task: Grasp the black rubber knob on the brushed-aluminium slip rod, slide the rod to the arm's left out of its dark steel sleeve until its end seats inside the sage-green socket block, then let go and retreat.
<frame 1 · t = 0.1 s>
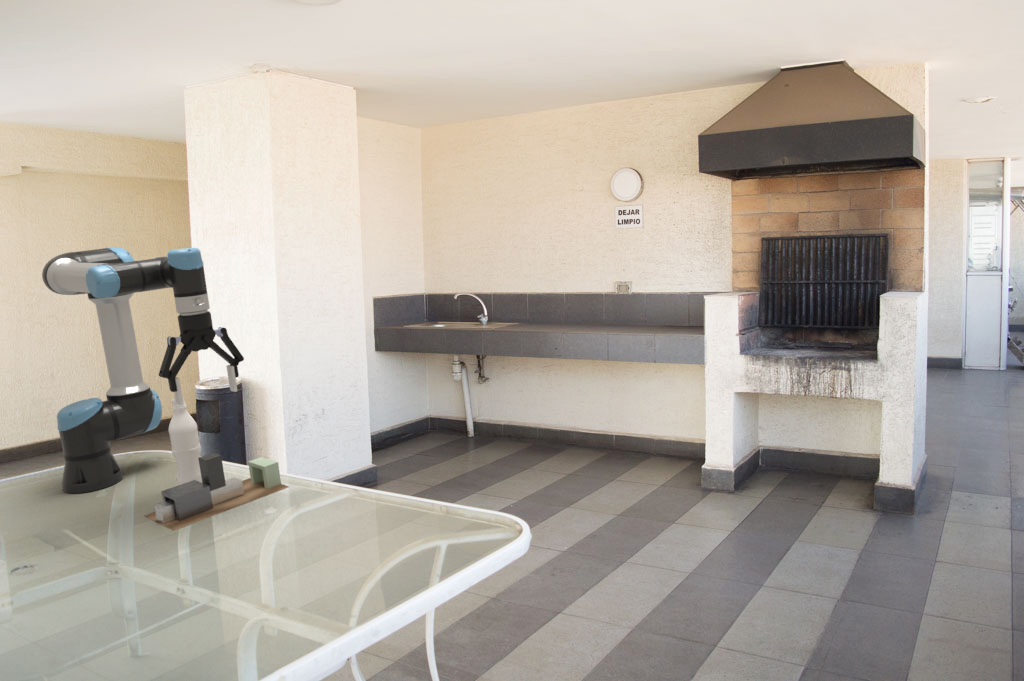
hand: (207, 397, 198), 28 cm above the table, fingers open, 13 cm apart
slip rod: (198, 484, 198), point 7 cm above the table, slide at 0.0 cm
sleeve: (190, 515, 197), resting on base board
water bottle: (193, 488, 216), on the table
socket block: (266, 486, 213), resting on base board
base board: (219, 504, 203), on the table
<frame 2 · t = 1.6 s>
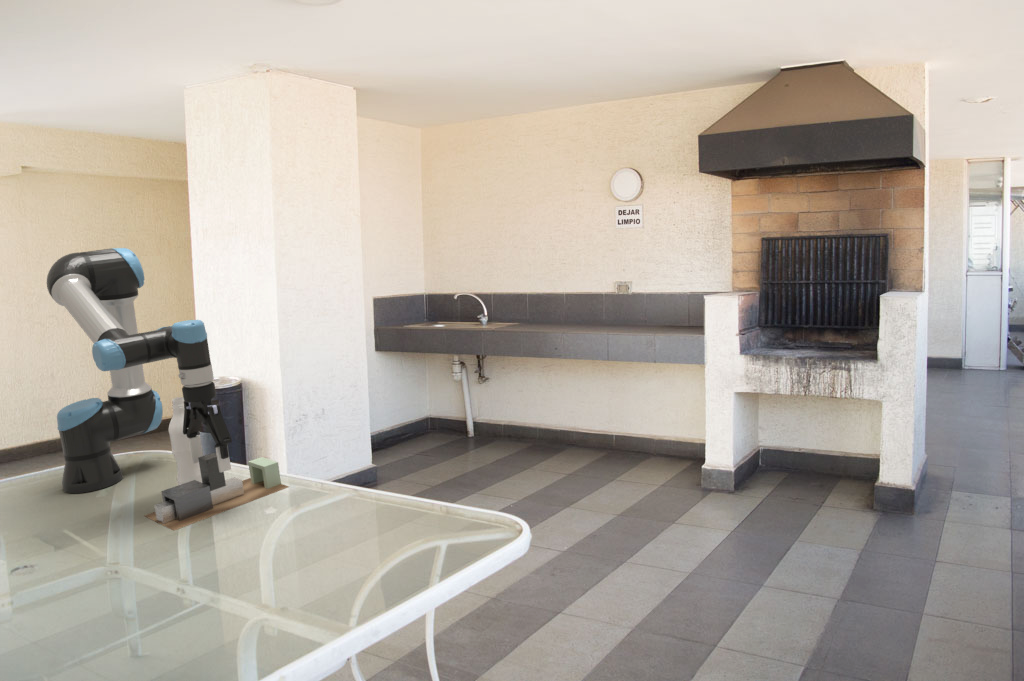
hand: (211, 466, 200), 10 cm above the table, fingers open, 13 cm apart
nothing on the table moved.
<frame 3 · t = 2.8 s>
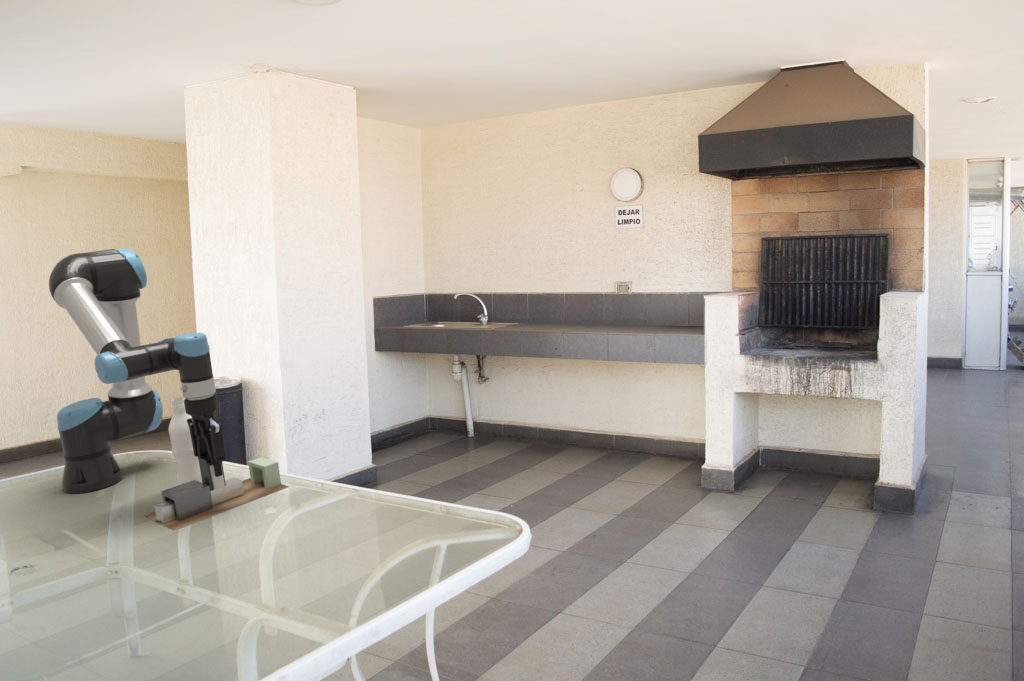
hand: (214, 485, 201), 5 cm above the table, fingers closed on slip rod, 4 cm apart
slip rod: (198, 484, 198), point 7 cm above the table, slide at 0.0 cm, touching gripper
everything else where it was.
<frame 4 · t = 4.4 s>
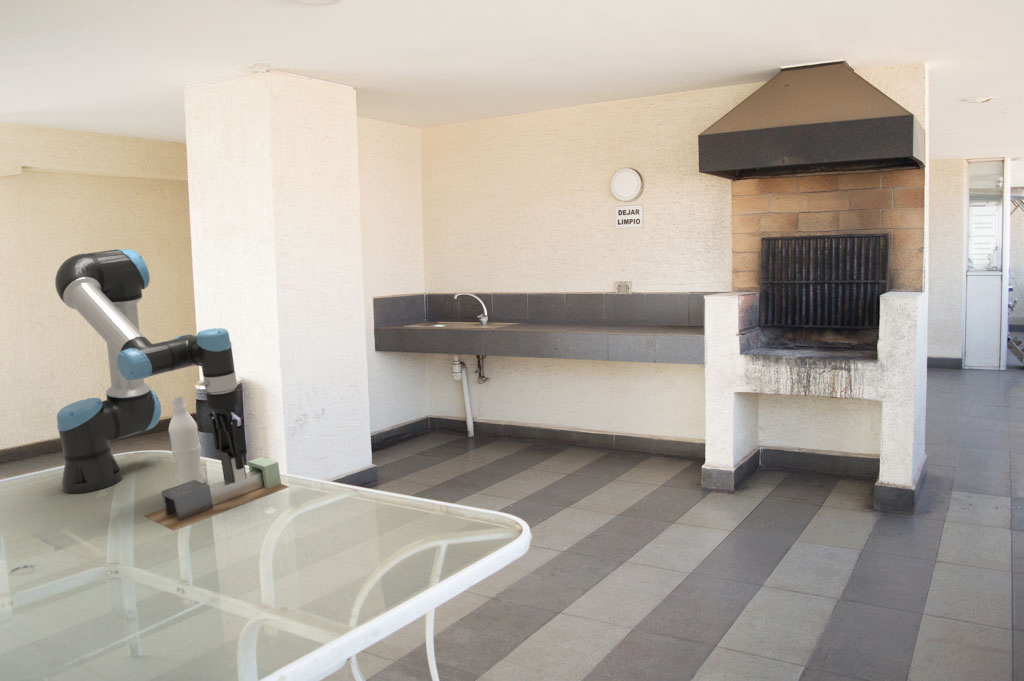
hand: (235, 478, 206), 5 cm above the table, fingers closed on slip rod, 4 cm apart
slip rod: (219, 476, 202), point 7 cm above the table, slide at 5.7 cm, touching gripper
everything else where it was.
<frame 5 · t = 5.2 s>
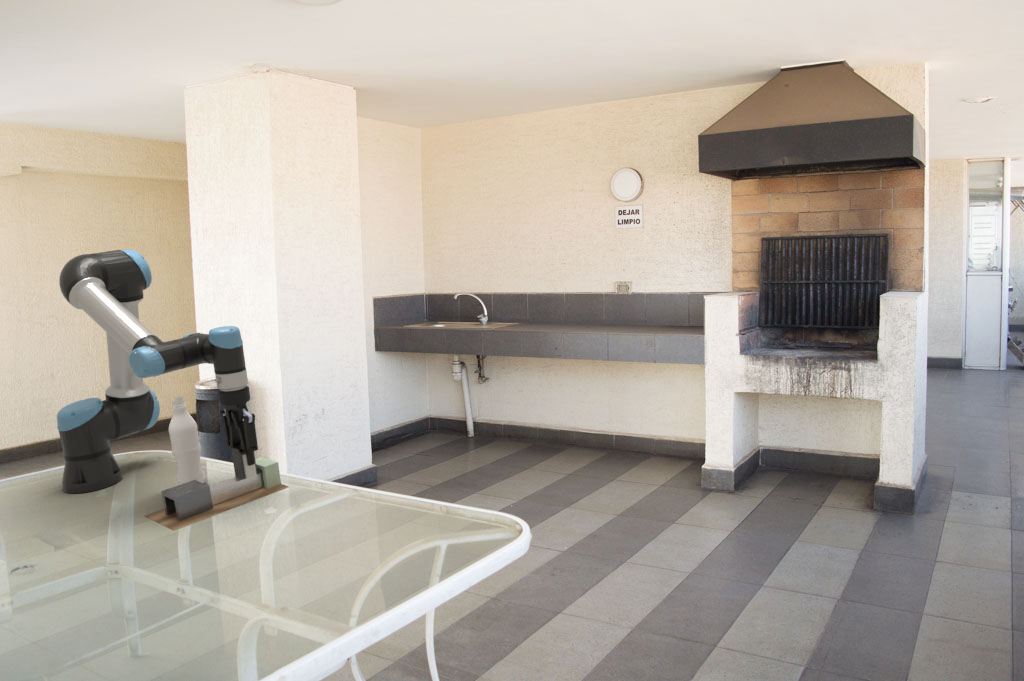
hand: (246, 474, 208), 5 cm above the table, fingers closed on slip rod, 4 cm apart
slip rod: (231, 472, 205), point 7 cm above the table, slide at 8.9 cm, touching gripper
everything else where it was.
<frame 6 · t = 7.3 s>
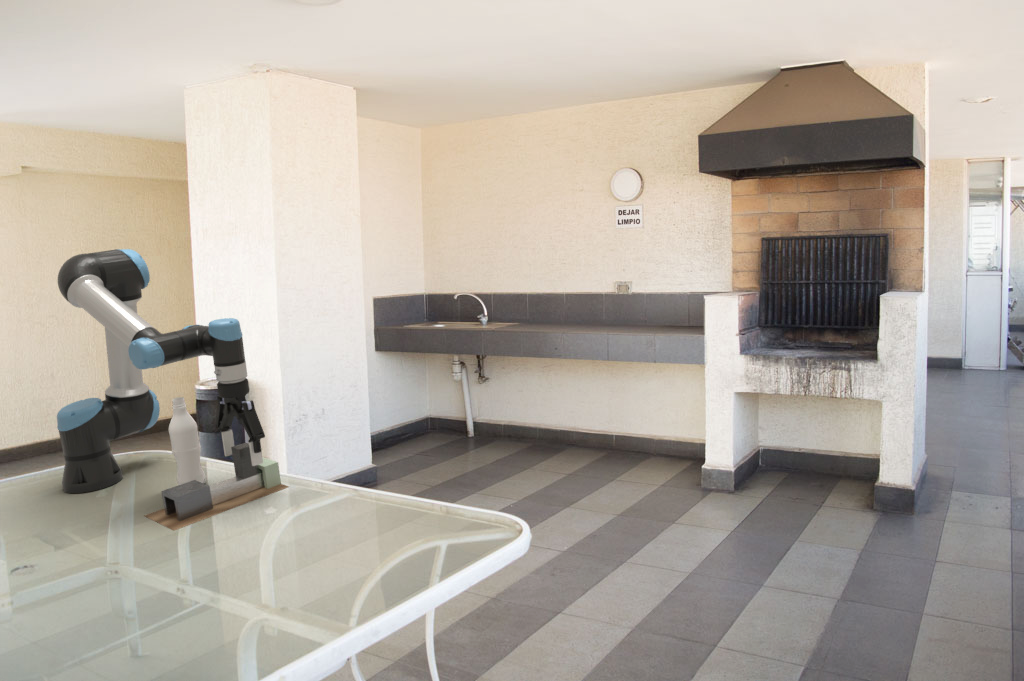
hand: (243, 459, 207), 9 cm above the table, fingers open, 13 cm apart
slip rod: (231, 472, 205), point 7 cm above the table, slide at 9.0 cm
everything else where it was.
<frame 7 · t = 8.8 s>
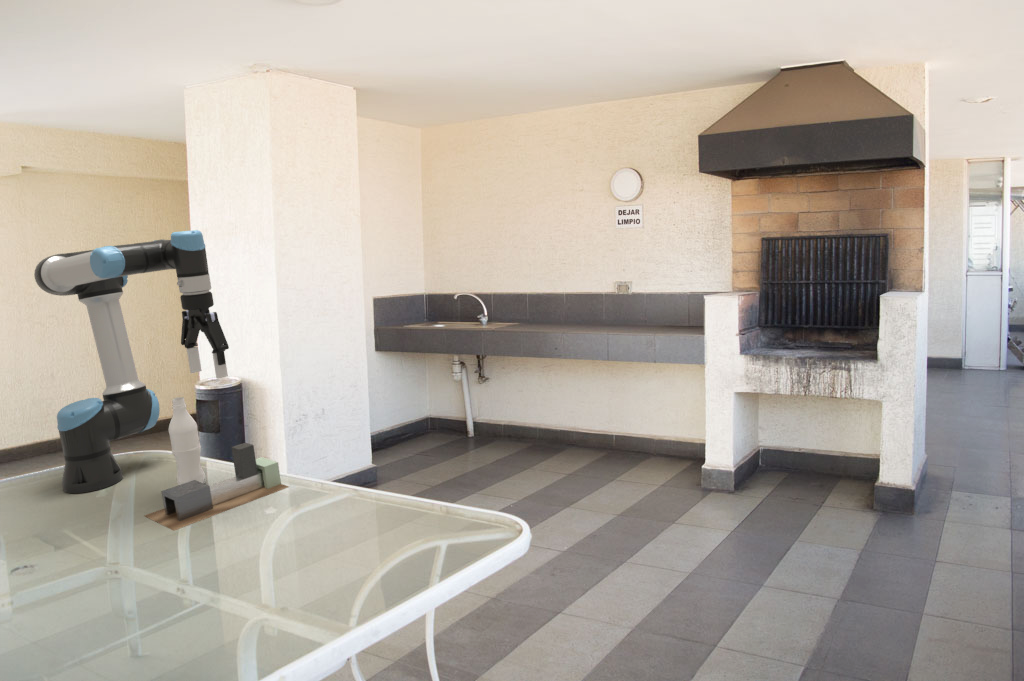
hand: (208, 374, 206), 32 cm above the table, fingers open, 13 cm apart
nothing on the table moved.
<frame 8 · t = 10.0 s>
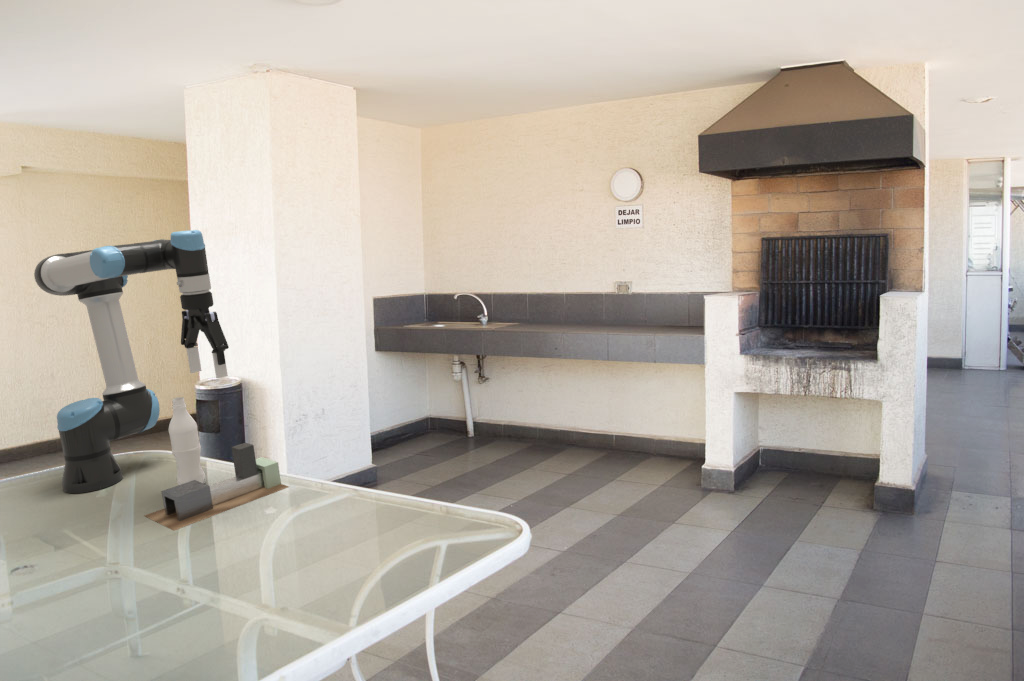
hand: (208, 374, 206), 32 cm above the table, fingers open, 13 cm apart
nothing on the table moved.
at the end: slip rod slide at 9.0 cm; the gripper is holding nothing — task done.
